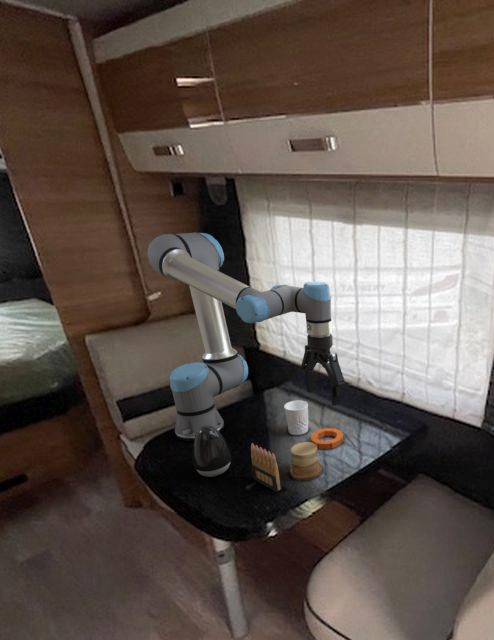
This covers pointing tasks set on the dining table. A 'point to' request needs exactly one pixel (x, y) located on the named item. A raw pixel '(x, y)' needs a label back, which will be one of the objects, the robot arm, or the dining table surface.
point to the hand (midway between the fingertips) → (323, 397)
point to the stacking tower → (305, 461)
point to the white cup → (297, 417)
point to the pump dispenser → (210, 452)
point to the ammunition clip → (265, 468)
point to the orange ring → (327, 432)
